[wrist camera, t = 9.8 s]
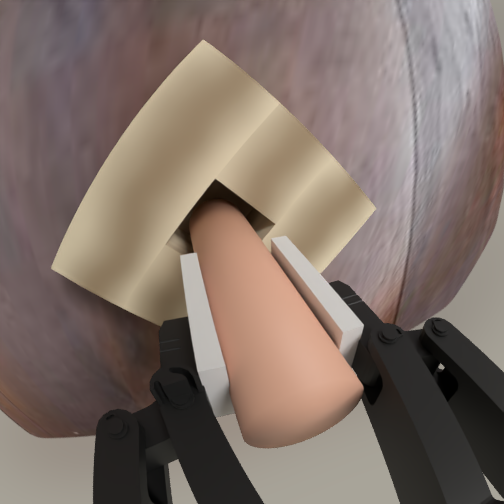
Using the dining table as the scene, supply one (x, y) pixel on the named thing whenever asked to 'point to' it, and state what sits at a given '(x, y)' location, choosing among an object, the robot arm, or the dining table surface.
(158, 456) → the robot arm
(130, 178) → the bore block
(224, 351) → the pin
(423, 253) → the dining table surface
